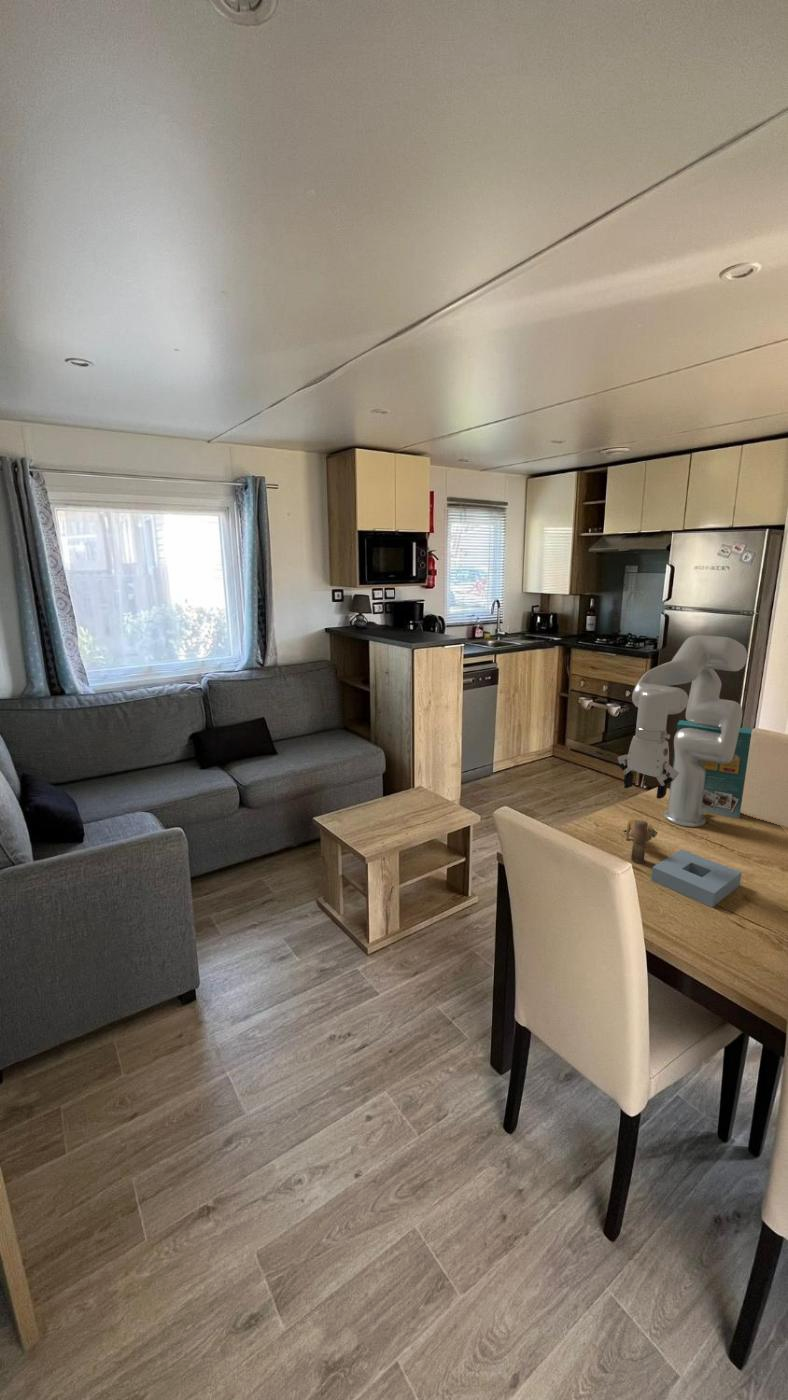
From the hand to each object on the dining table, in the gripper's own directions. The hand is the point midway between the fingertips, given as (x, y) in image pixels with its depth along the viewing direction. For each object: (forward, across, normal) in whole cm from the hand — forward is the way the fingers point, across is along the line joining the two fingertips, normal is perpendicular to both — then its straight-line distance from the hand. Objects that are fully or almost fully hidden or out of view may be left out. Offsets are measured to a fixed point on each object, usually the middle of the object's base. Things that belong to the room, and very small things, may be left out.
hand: (643, 792), depth 160 cm
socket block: (+21, -16, -1) cm, 27 cm away
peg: (+21, 0, 0) cm, 21 cm away
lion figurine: (+21, +5, -10) cm, 24 cm away
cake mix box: (+20, +5, -52) cm, 56 cm away
